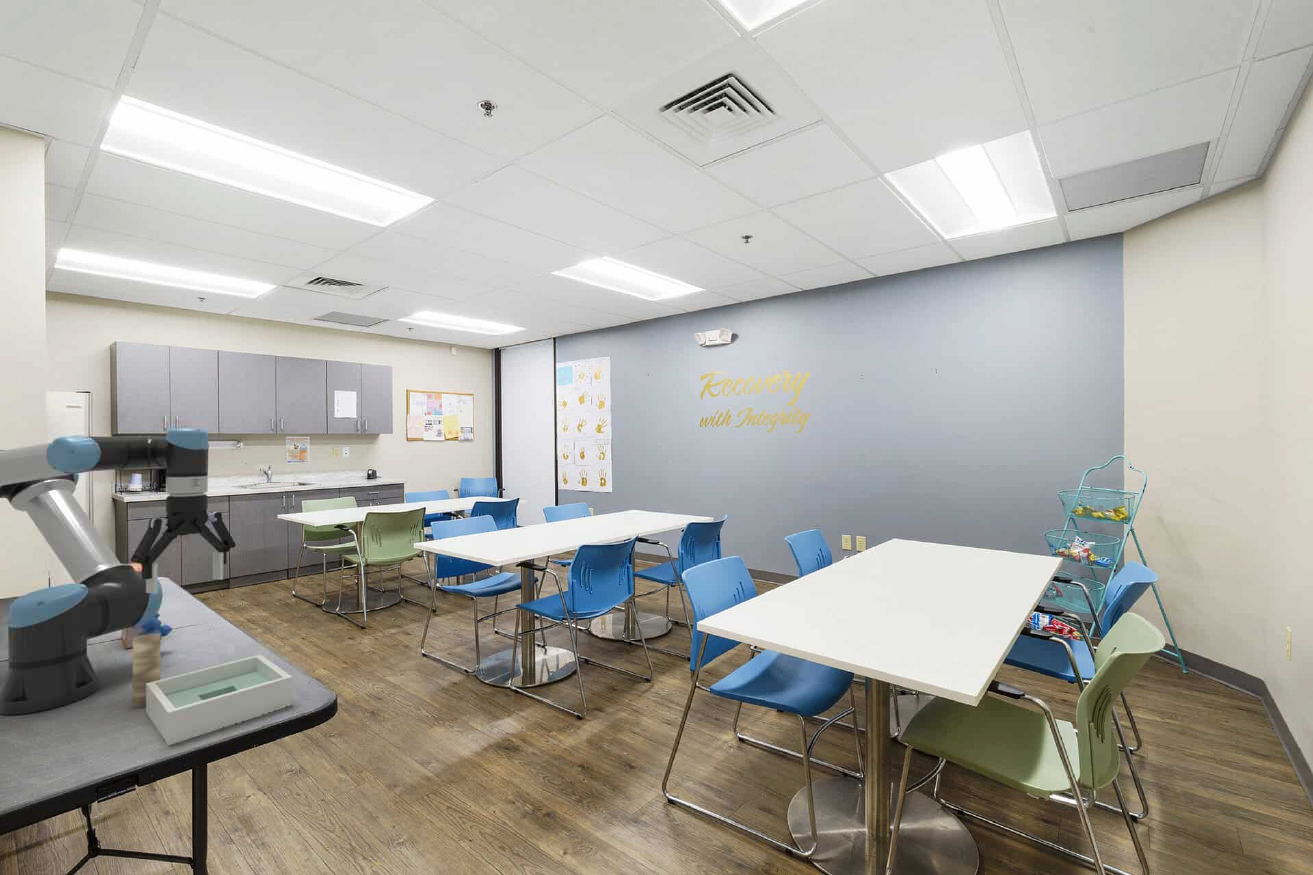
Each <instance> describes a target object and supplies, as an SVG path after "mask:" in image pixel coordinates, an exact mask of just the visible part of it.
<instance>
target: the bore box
mask: <svg viewBox="0 0 1313 875" xmlns="http://www.w3.org/2000/svg"><path fill="white" fill-rule="evenodd" d="M290 705H292V706H293V676H291V675H290V674H289V673H287V672H286V671H284V670H283V669H282V668H280V667H279V666H277V664H275V663H274V662H272V661H271V660H269V659H268V658H266V657H265V656H264V655H262V654H256V655H253V656H252V655H251V656H249V657H244V658H241V659H236V660H234V661H233V660H232V661H229V662H225V663H220V664H217V665H213V666H210V667H206V668H205V667H204V668H202V669H198V670H194V671H190V672H186V673H181V674H178V675H174V676H170V677H166V678H162V679H161V678H160V680H157V681H153V682H150V683H146V706H145V713H146V715H147V716H148V717H149V719H150V720H151V722H152V723H153V725H154V727H155V728H156V729H157V731H158V732H159V734H160V735H161V737H162V738H163V740H164V741H165V742H166V744H167V746H172V745H174V744H177V743H181V742H184V741H186V740H190V739H193V738H195V737H196V738H197V737H199V736H202V735H205V734H208V733H211V732H215V731H218V730H221V729H224V728H227V727H230V726H233V725H236V724H235V723H237V724H239V723H243V722H246V721H249V720H252V719H255V718H258V717H261V716H264V715H267V714H270V713H274V712H276V711H275V710H277V711H279V709H280V710H282V708H283V709H285V707H286V706H289V707H291V706H290ZM286 708H287V707H286ZM273 711H274V712H273ZM269 712H270V713H269ZM263 714H264V715H263ZM242 721H243V722H242ZM223 727H224V728H223Z"/></svg>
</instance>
